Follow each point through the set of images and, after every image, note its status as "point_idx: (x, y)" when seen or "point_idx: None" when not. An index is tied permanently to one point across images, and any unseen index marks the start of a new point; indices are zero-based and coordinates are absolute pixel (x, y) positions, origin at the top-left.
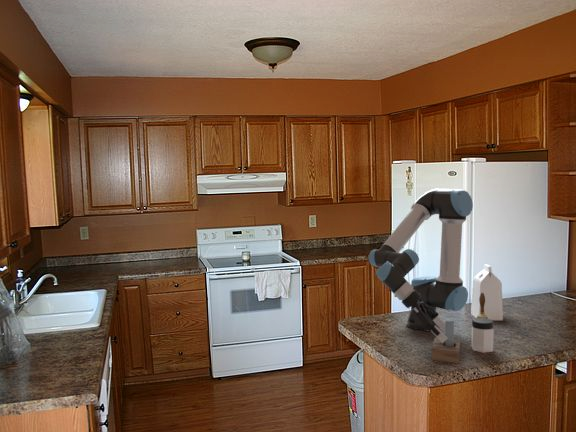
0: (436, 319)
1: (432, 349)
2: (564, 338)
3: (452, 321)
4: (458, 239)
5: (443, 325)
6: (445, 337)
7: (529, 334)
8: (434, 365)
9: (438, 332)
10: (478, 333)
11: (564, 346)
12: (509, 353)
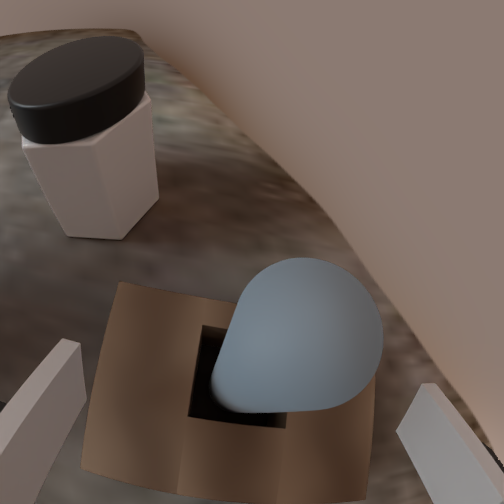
0: (11, 489)
1: (362, 493)
2: (61, 35)
3: (331, 280)
4: None
5: (56, 401)
6: (441, 399)
7: (8, 75)
8: (405, 459)
9: (493, 452)
10: (127, 144)
11: (112, 34)
12: (163, 120)
